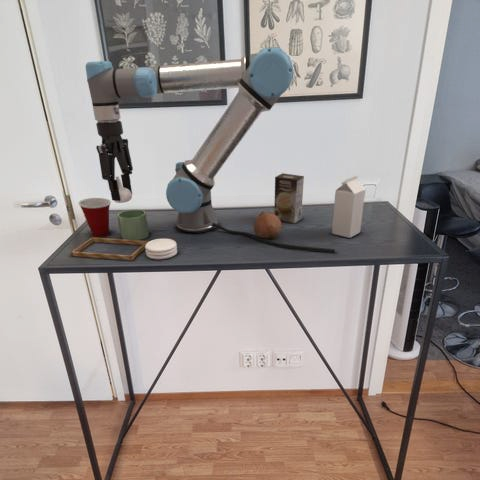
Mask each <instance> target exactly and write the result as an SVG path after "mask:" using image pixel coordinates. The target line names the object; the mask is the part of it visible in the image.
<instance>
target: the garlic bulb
mask: <svg viewBox="0 0 480 480" xmlns="http://www.w3.org/2000/svg"><path fill="white" fill-rule="evenodd" d="M115 180H117V184H118V189H119V194H120V201H114V202H115V203H117V204H123V203H128V202H129V201H131V200H132V199H133V192H132V193H131V192H130V190H128V189H127V188H124V187H123V184H122V180H121V179H120V176H115Z"/></svg>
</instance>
